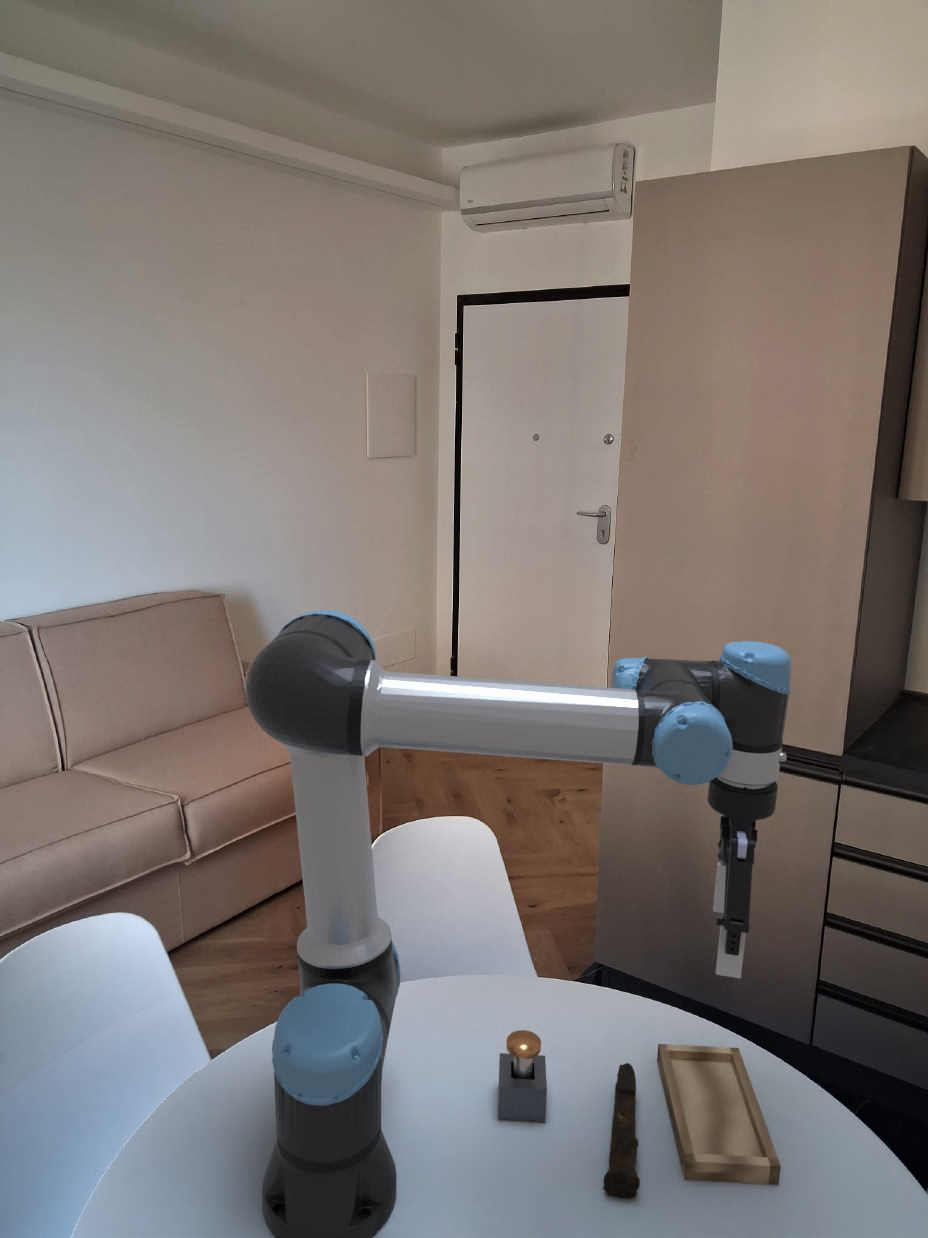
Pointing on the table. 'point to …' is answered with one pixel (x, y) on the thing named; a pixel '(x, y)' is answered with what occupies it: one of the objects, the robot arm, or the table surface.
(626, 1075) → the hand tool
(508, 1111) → the socket block
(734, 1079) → the tray
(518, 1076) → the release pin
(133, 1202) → the table surface
